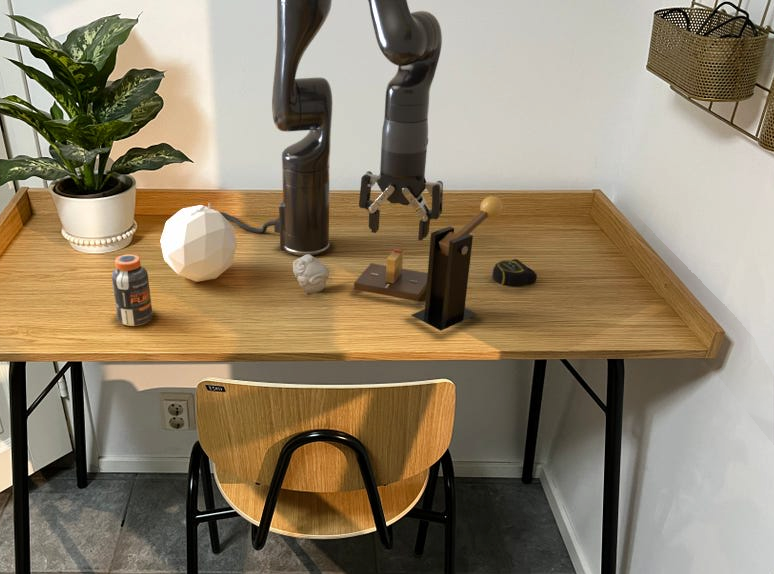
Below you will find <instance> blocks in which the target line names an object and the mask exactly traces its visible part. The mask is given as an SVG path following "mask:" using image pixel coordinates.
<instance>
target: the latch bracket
mask: <svg viewBox="0 0 774 574" xmlns="http://www.w3.org/2000/svg"><path fill="white" fill-rule="evenodd" d="M449 232H452V233H454V234H455V227H452V226H451V225H449V226H446V227H443V228H441V229H439V230H435V231H433V232H430V242H429V255H428V266H427V273H428V276H427V288H426V290H425V301H424V308H423V309H421V310H419V311H417V312H414V313H412V314H411V317H413V318H415V319H417V320H419V321H421V322H423V323H425V324H427V325H429V326H430V327H432V328H435V329H436V330H438V331H439V332H442V331H443V330H446V329H449V328H451V327H453V326H455V325H457V324H459V323H461V322H464V321H466V320H468V319H470V318H473V317H475V316H477V315H478V314H477V313H476V312H474V311H471V310H469V309H467V308H466V301H467V300H466V299H467V293H468V283H469V275H470V274H469V273H470V267H471V266H470V265H471V257H472V247H473V239H474V235H473V234H471V233H470V234H466V235H464V236H461V237H458V238H456V239H453V240H450V241H449V252H448V256H447V255H445V254H442V252H441V249H440V245H439V242H440V241H441V240H442V239H443V238H444V237H445V236H446V235H447V234H448V233H449Z"/></svg>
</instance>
